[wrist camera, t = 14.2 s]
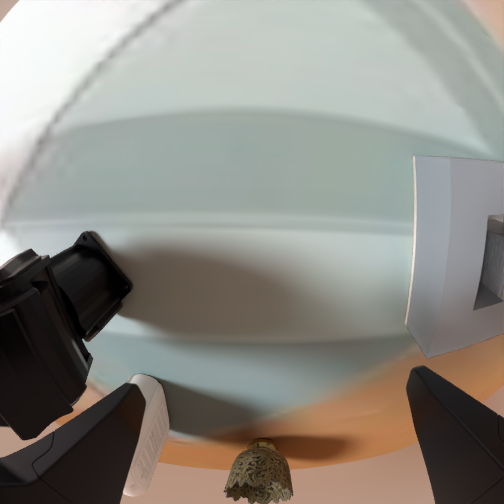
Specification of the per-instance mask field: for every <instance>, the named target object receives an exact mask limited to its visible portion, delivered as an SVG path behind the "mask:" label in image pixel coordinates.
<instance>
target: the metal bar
mask: <svg viewBox="0 0 504 504" xmlns="http://www.w3.org/2000/svg"><path fill="white" fill-rule="evenodd" d="M480 282H481V283H482V284H483V285H485V286H486V287H487V288H488V289H490V290H491V291H492V292H493V293H495V294H496V295H497V296H498V297H499V298H501V299H502V300H503V301H504V223H503V222H500V221H498V220H496V219H488V221H487V233H486V242H485V250H484V257H483V264H482V270H481V276H480Z"/></svg>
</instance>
